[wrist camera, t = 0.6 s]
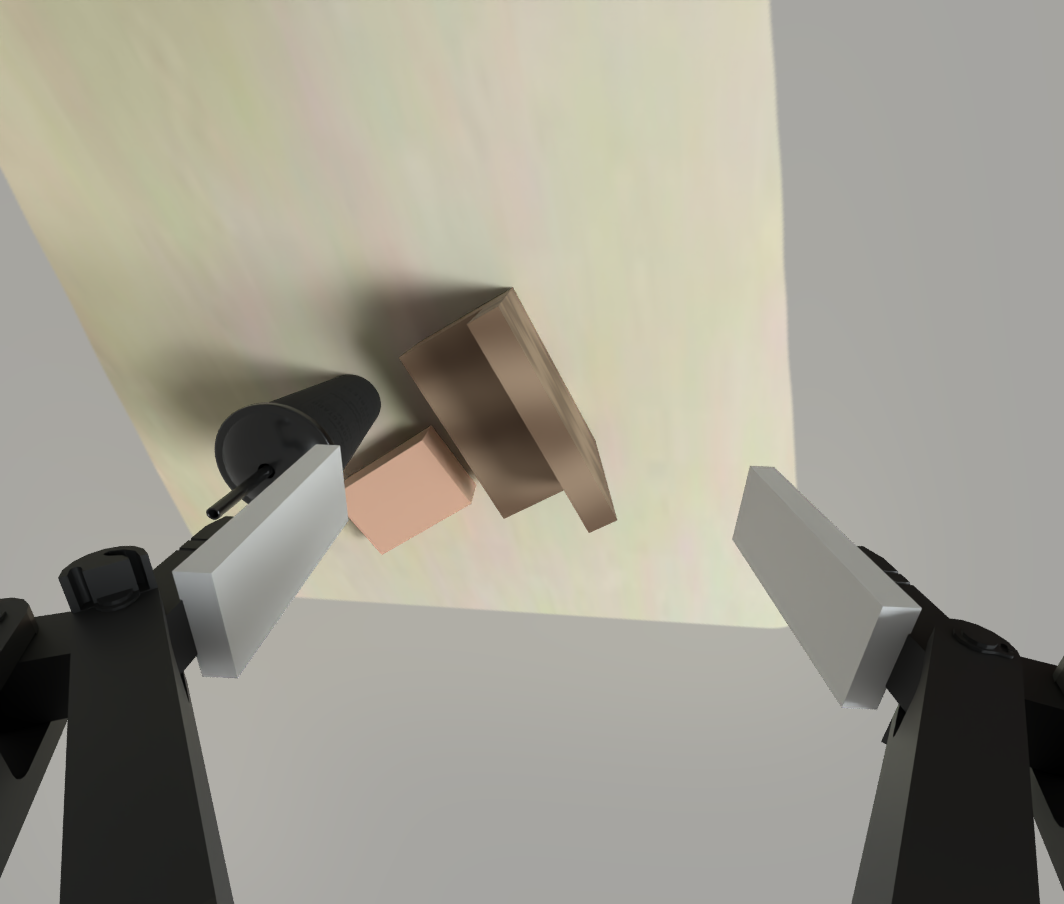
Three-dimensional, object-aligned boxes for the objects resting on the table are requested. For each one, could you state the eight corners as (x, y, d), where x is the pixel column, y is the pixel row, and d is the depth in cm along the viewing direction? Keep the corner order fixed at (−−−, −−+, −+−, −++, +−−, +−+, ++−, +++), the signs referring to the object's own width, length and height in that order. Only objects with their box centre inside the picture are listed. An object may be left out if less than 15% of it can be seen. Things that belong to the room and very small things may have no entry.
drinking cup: (408, 379, 42) (305, 480, 24) (382, 454, 45) (270, 596, 27) (322, 343, 41) (145, 418, 23) (301, 421, 44) (126, 545, 26)
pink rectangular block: (347, 477, 47) (331, 497, 43) (432, 424, 44) (422, 440, 41) (393, 531, 49) (382, 554, 45) (476, 483, 47) (471, 503, 43)
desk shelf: (419, 341, 41) (363, 384, 28) (512, 287, 39) (498, 306, 26) (508, 483, 46) (495, 575, 33) (595, 441, 44) (617, 520, 31)
